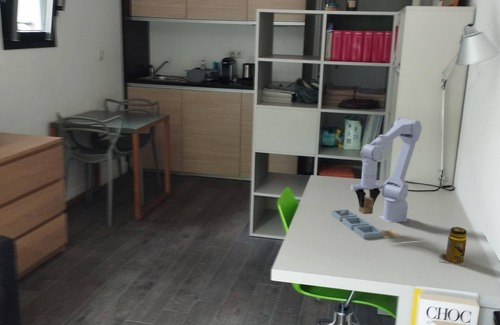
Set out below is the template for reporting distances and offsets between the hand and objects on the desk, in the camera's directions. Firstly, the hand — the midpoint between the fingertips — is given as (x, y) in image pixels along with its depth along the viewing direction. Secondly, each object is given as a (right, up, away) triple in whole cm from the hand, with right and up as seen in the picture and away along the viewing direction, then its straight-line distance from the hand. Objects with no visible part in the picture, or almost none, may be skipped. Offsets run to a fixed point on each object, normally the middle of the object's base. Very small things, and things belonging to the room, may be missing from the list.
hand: (366, 206), depth 209 cm
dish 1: (-7, -6, +14) cm, 17 cm away
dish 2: (-4, -9, +5) cm, 11 cm away
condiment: (+25, -17, -25) cm, 39 cm away
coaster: (+9, -11, -4) cm, 15 cm away
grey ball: (-7, -6, +14) cm, 16 cm away
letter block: (0, -2, +1) cm, 2 cm away
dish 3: (-1, -11, -5) cm, 12 cm away
